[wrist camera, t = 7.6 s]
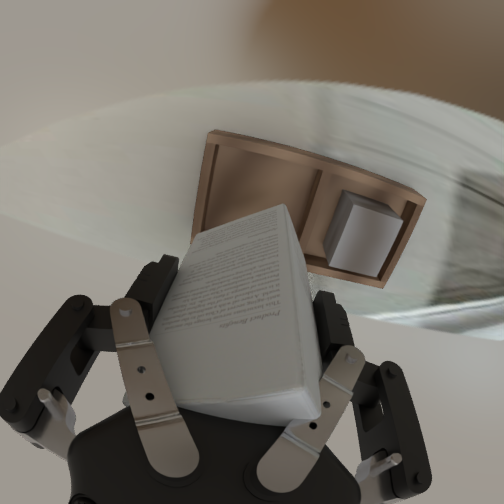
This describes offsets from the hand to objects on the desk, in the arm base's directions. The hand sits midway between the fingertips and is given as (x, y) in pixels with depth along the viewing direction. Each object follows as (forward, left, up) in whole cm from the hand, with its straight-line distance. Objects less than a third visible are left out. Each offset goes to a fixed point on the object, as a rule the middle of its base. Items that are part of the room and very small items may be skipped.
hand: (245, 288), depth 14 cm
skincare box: (0, 0, -5) cm, 5 cm away
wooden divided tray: (-5, 0, -14) cm, 15 cm away
